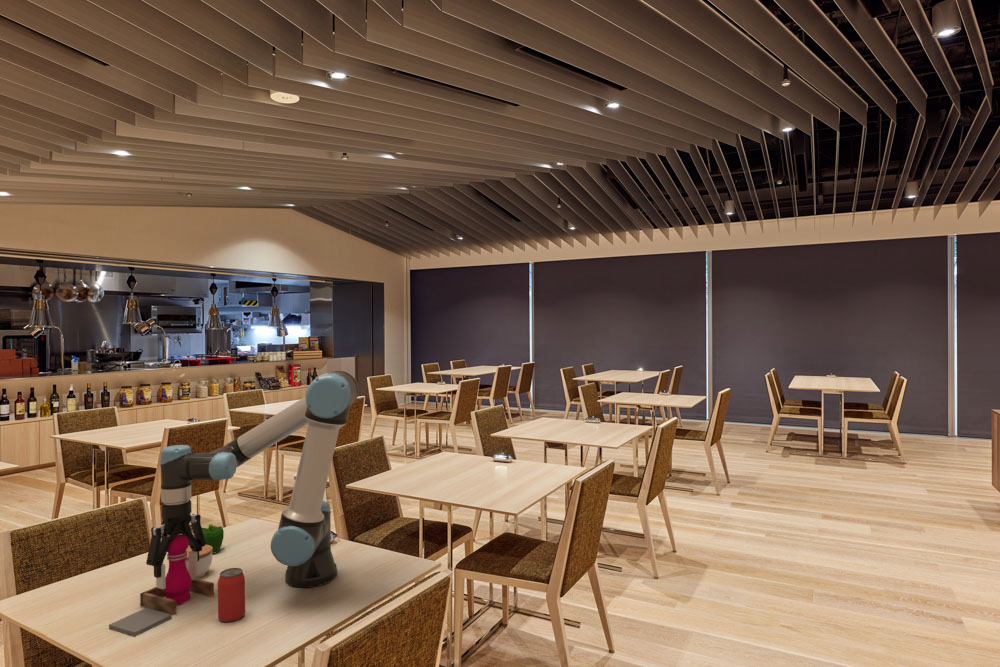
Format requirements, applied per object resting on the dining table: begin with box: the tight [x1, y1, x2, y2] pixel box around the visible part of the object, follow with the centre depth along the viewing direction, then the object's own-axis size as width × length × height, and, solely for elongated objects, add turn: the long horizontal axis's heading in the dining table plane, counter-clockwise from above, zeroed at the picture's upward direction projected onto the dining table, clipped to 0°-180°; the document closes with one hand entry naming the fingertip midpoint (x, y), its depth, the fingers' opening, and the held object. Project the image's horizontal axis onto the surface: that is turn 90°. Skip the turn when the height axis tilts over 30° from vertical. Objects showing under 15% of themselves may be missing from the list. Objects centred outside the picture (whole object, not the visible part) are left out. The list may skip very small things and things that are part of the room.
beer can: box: [217, 567, 246, 623], centre depth 159 cm, size 7×7×12 cm
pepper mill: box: [163, 534, 192, 606], centre depth 169 cm, size 7×7×20 cm
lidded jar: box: [185, 545, 213, 579], centre depth 186 cm, size 11×11×9 cm
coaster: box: [108, 607, 173, 637], centre depth 156 cm, size 10×10×1 cm
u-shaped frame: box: [139, 578, 215, 616], centre depth 169 cm, size 13×13×4 cm
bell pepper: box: [202, 523, 225, 554], centre depth 206 cm, size 8×8×10 cm
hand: (177, 580), depth 169 cm, fingers open, 9 cm apart
